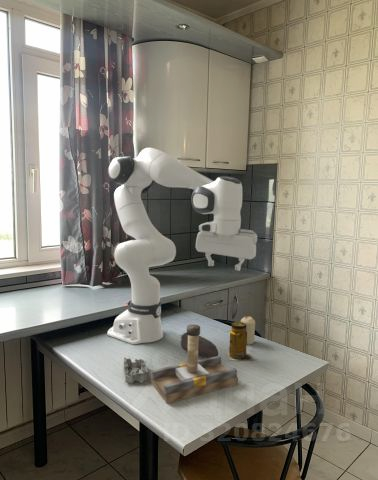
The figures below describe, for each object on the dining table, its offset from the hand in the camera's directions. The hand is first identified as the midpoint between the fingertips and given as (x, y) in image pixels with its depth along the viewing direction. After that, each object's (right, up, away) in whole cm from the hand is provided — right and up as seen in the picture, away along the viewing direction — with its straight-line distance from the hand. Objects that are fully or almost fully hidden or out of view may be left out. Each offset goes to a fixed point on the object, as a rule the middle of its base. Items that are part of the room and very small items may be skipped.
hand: (224, 267), depth 125 cm
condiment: (+7, -33, +9) cm, 34 cm away
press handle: (-11, -32, -11) cm, 36 cm away
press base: (-10, -35, -10) cm, 38 cm away
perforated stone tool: (-8, -32, +9) cm, 34 cm away
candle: (+11, -31, +21) cm, 39 cm away
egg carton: (-29, -34, -5) cm, 45 cm away
